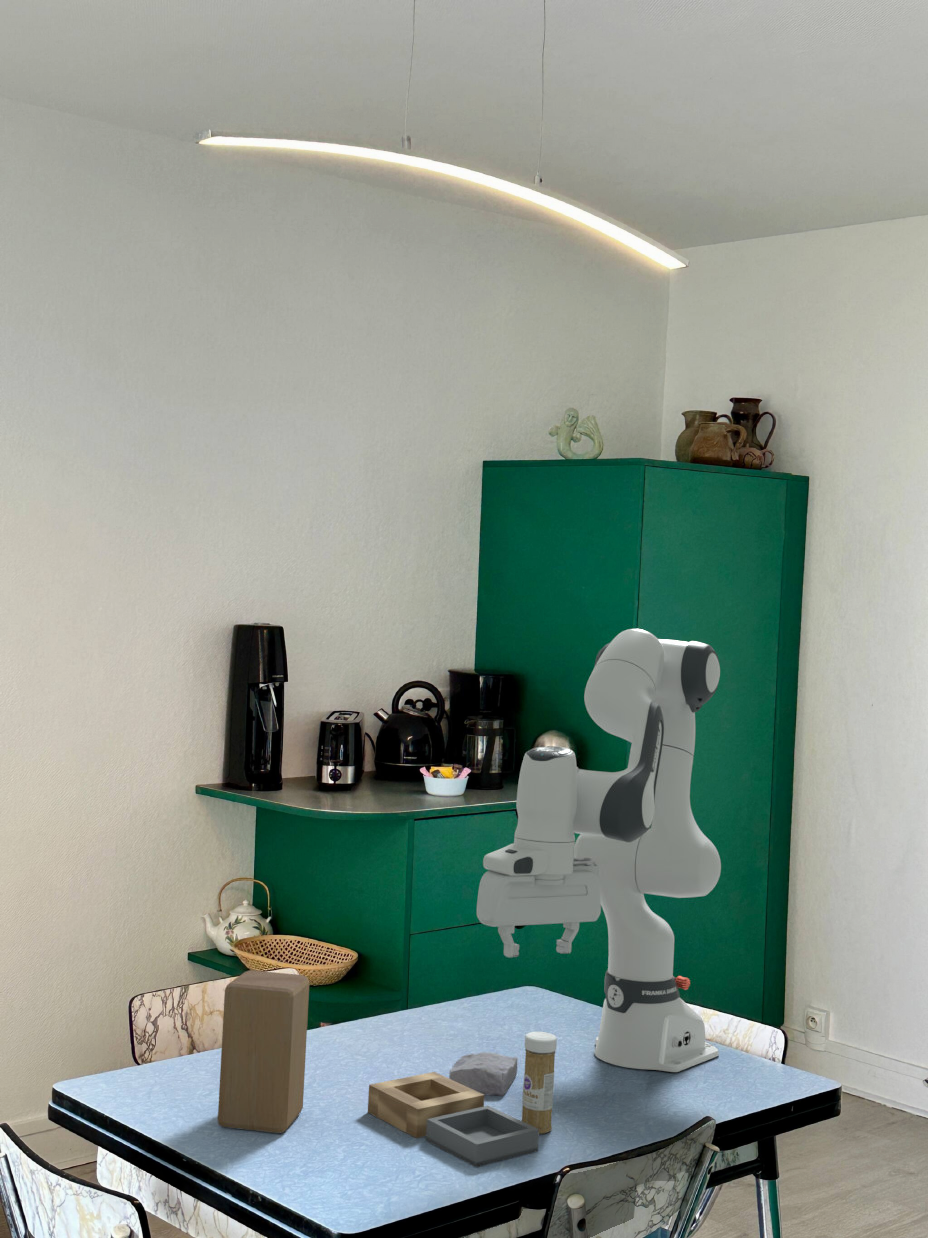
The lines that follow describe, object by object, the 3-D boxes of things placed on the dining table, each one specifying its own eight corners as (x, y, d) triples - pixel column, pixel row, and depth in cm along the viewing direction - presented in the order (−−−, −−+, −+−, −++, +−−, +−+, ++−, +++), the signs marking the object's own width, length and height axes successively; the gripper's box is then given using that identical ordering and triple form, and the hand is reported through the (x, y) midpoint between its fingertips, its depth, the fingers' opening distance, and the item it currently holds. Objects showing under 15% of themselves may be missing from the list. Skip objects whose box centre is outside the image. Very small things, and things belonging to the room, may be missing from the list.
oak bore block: (432, 1098, 204) (434, 1072, 204) (483, 1122, 195) (484, 1095, 195) (367, 1112, 197) (369, 1084, 197) (416, 1138, 187) (418, 1109, 188)
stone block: (446, 1103, 208) (509, 1098, 206) (442, 1072, 209) (505, 1066, 207) (462, 1083, 220) (522, 1077, 218) (458, 1053, 220) (517, 1047, 218)
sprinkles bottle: (514, 1128, 193) (518, 1034, 194) (534, 1121, 197) (538, 1028, 197) (538, 1137, 190) (543, 1042, 190) (558, 1130, 194) (563, 1036, 194)
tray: (486, 1126, 193) (488, 1105, 194) (538, 1151, 185) (539, 1129, 185) (425, 1141, 187) (426, 1119, 187) (475, 1167, 178) (477, 1144, 178)
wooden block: (238, 1105, 197) (245, 968, 198) (304, 1112, 196) (311, 974, 196) (214, 1129, 187) (222, 984, 188) (284, 1136, 186) (292, 991, 186)
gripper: (586, 854, 204) (580, 946, 204) (473, 856, 193) (467, 954, 193) (612, 860, 199) (607, 955, 198) (498, 863, 188) (492, 963, 187)
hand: (537, 954), depth 195 cm, fingers open, 8 cm apart
